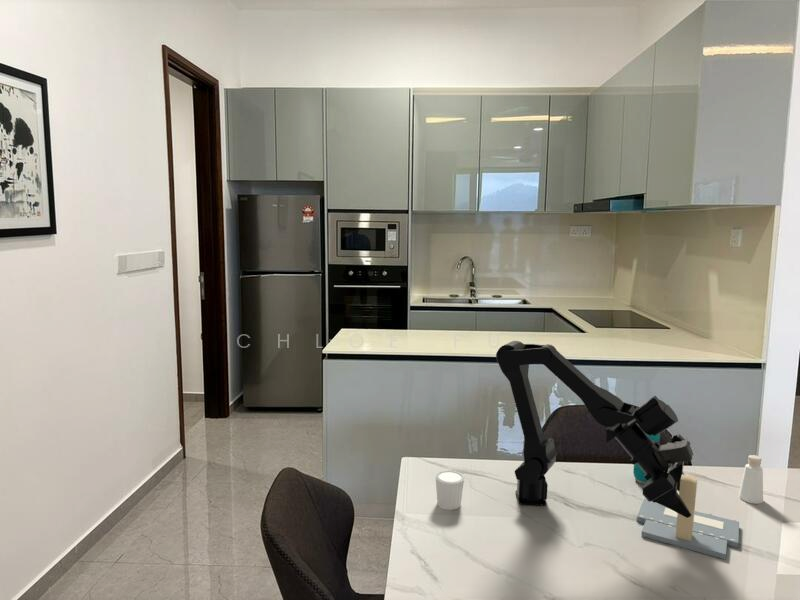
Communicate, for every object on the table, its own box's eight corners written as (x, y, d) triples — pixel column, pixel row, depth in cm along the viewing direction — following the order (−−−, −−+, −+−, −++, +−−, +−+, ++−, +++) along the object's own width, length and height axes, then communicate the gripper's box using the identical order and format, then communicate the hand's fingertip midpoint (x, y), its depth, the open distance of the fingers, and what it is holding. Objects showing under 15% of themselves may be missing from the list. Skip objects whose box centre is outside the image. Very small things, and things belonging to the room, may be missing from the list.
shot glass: (431, 507, 136) (431, 479, 135) (440, 495, 143) (440, 468, 142) (458, 513, 134) (459, 485, 133) (466, 500, 140) (467, 473, 139)
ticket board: (636, 521, 131) (637, 515, 131) (643, 503, 140) (644, 498, 140) (737, 548, 121) (738, 542, 121) (738, 526, 130) (739, 521, 129)
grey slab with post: (641, 536, 125) (646, 474, 123) (645, 523, 130) (650, 464, 128) (725, 559, 117) (732, 494, 115) (726, 545, 122) (733, 482, 120)
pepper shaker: (741, 491, 147) (745, 450, 145) (766, 499, 143) (770, 457, 141) (735, 498, 143) (739, 456, 141) (760, 506, 139) (764, 463, 137)
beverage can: (653, 477, 154) (658, 423, 152) (658, 486, 149) (662, 431, 147) (631, 474, 155) (635, 421, 153) (634, 484, 150) (638, 429, 148)
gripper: (664, 440, 114) (722, 507, 110) (675, 414, 130) (726, 472, 126) (620, 469, 120) (674, 534, 115) (635, 440, 135) (684, 496, 131)
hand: (691, 507), depth 122 cm, fingers open, 9 cm apart
